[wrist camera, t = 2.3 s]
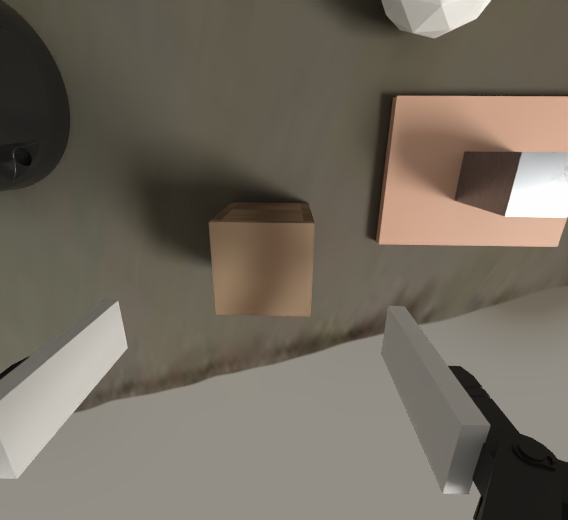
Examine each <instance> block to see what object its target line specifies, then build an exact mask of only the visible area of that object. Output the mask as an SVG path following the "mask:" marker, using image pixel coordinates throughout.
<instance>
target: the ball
mask: <svg viewBox="0 0 568 520" xmlns="http://www.w3.org/2000/svg"><path fill="white" fill-rule="evenodd" d="M381 1H382V4H383V7H384V10H385V13H386V16H387V17H388V18H389V19H390V20H391V21H392V22H393V23H394V24H395V25H396V26H397V27H398V28H399V30H401V31H406V32H410V33H414V34H418V35H422V36H427V37H431V38H437V37H439V36H441V35H443V34H445V33H447V32H449V31H451V30H453V29H456V28H458V27H460V26H462V25H464V24H466V23H468V22H470V21H472V20H475V19H477V17H478V16H479V15H480V14H481V12H482V11H483V10H484V8H485V7H486V6H487V5H488V3H489V2H490V1H491V0H381Z"/></svg>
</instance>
